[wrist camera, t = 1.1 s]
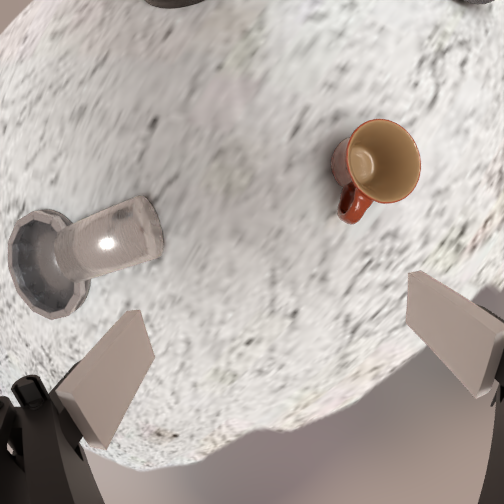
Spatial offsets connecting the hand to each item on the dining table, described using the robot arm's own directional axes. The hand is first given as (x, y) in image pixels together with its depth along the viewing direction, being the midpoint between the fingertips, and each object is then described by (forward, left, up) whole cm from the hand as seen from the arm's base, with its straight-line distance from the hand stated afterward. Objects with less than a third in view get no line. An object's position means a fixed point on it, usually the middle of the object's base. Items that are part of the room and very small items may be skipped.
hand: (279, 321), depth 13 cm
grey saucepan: (-5, -29, -26) cm, 39 cm away
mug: (-4, +13, -26) cm, 29 cm away
